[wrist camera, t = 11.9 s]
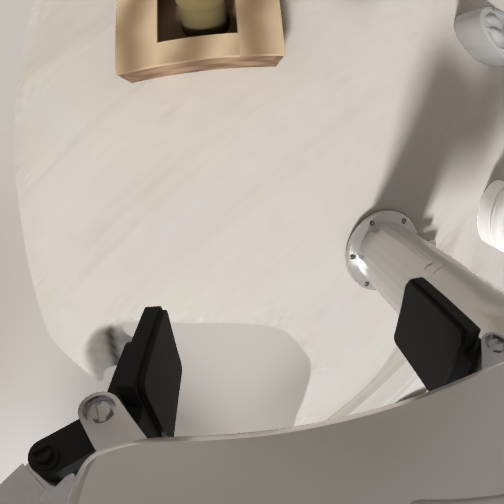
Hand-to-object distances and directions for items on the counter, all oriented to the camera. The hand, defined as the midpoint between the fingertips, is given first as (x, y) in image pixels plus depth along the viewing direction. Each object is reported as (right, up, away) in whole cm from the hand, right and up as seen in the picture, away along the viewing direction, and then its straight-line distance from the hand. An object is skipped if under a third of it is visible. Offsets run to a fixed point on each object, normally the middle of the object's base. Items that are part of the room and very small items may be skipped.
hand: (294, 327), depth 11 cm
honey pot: (+46, +11, +31) cm, 56 cm away
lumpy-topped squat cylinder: (+39, +41, +18) cm, 59 cm away
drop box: (-8, +31, +17) cm, 37 cm away
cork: (-7, +31, +17) cm, 36 cm away
